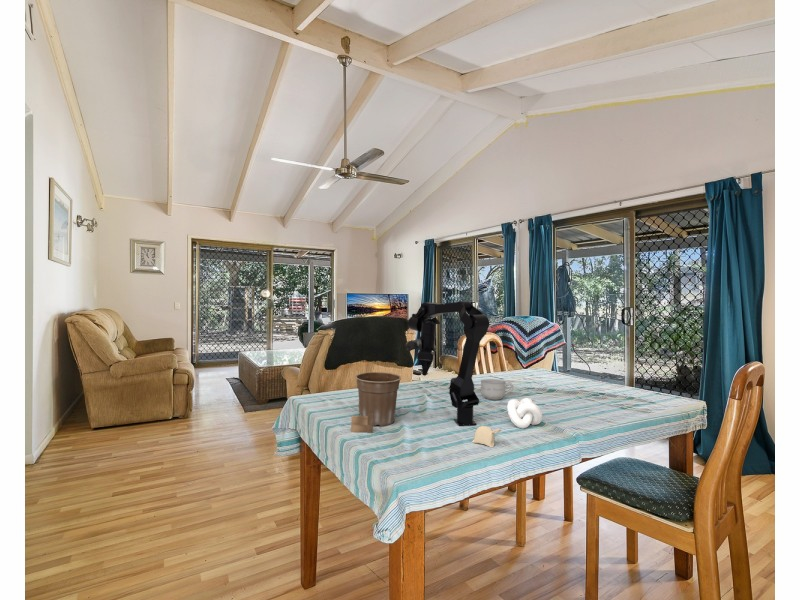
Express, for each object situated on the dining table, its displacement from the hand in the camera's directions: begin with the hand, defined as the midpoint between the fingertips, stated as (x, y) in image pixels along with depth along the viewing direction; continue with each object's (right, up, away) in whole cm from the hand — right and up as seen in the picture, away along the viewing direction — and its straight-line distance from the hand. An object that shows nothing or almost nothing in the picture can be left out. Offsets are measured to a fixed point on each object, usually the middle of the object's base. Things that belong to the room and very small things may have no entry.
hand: (425, 372), depth 164 cm
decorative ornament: (+16, -16, -37) cm, 44 cm away
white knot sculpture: (+33, -16, -18) cm, 41 cm away
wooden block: (-23, -14, -17) cm, 32 cm away
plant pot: (-18, -15, -17) cm, 29 cm away
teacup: (+32, -15, +16) cm, 39 cm away
